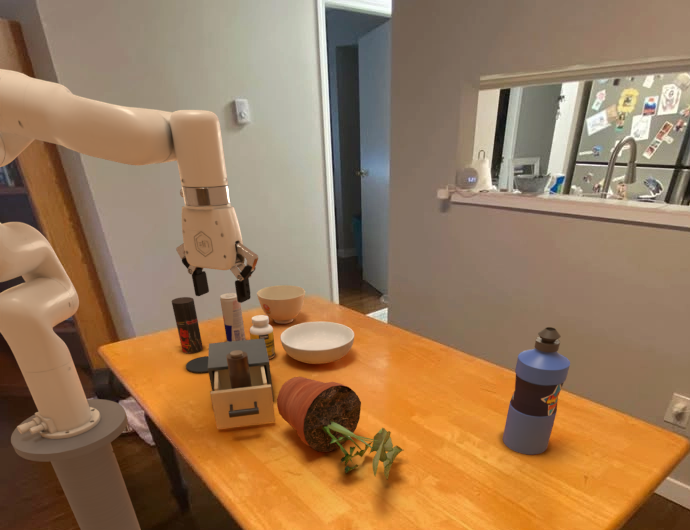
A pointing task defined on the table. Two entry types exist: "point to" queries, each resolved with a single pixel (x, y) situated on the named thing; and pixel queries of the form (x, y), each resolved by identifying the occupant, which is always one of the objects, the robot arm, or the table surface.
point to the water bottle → (536, 395)
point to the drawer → (242, 400)
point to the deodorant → (187, 324)
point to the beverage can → (232, 317)
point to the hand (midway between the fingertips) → (223, 297)
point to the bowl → (281, 302)
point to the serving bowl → (317, 341)
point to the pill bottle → (263, 333)
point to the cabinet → (251, 347)
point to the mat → (198, 365)
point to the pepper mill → (238, 369)
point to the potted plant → (331, 420)
